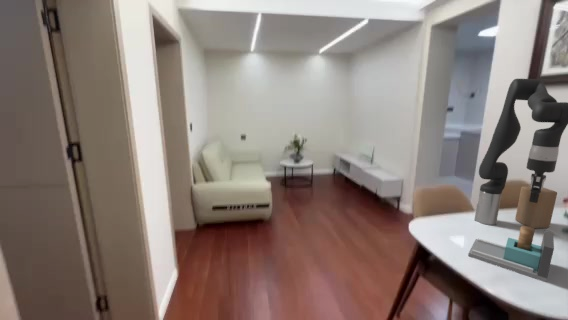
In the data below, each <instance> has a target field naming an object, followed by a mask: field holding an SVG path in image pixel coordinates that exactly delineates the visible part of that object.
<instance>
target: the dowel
mask: <svg viewBox="0 0 568 320" xmlns="http://www.w3.org/2000/svg"><path fill="white" fill-rule="evenodd" d="M519 229H520V230H519V234H518V235H519V236H518V239H517V240H518V244H517V248H520V249H524V250H527V251H530V250H531V245H532V244H533V240H534V235H535V231H536V228H531V227H528V226H526V225H521V226H520V228H519Z"/></svg>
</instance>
